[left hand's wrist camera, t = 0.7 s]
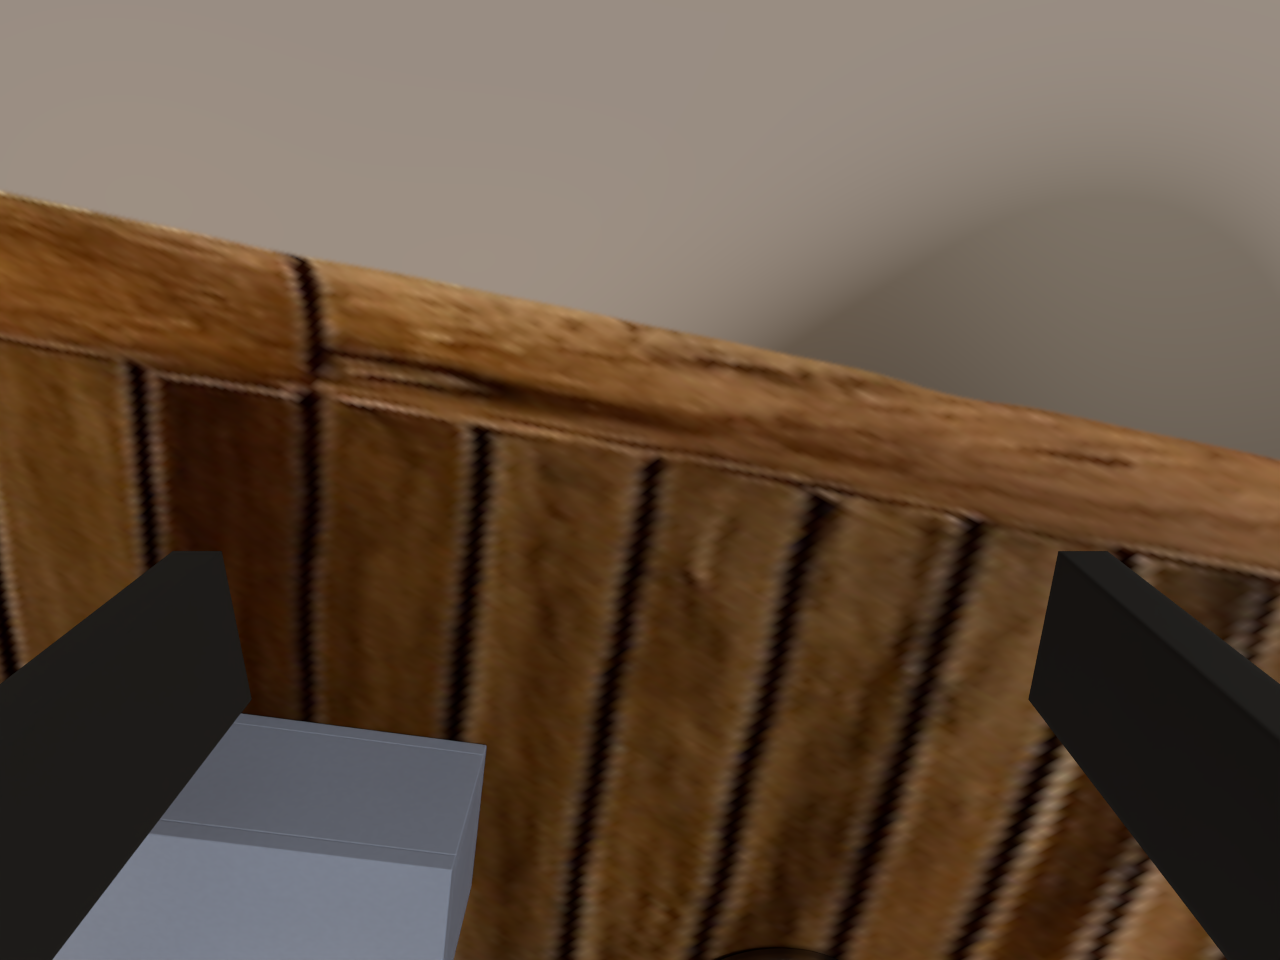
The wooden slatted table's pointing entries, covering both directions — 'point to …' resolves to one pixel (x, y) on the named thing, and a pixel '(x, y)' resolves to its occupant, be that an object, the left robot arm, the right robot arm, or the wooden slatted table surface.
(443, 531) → the wooden slatted table surface
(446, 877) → the cabinet
